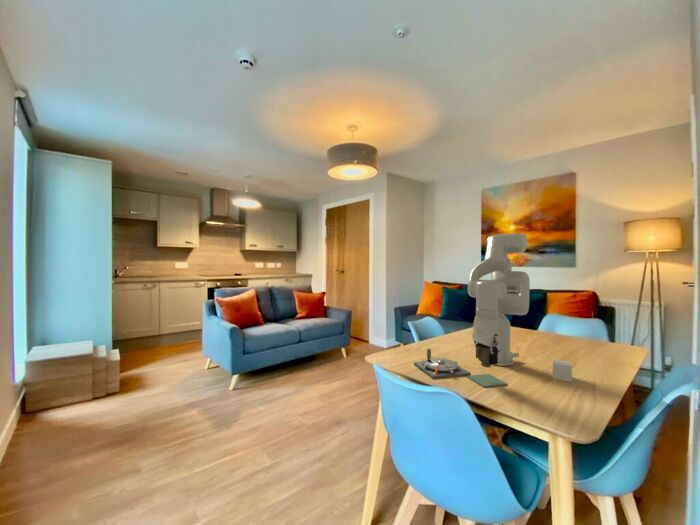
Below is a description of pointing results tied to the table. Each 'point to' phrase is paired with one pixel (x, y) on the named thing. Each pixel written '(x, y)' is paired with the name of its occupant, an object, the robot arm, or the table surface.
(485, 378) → the seat mat
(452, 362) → the sprocket wheel
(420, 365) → the index board
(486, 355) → the cup
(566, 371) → the grey cube
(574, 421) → the table surface
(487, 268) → the robot arm
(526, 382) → the table surface
